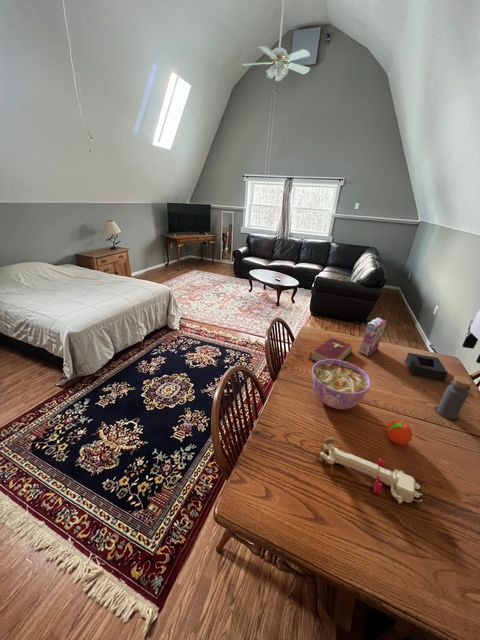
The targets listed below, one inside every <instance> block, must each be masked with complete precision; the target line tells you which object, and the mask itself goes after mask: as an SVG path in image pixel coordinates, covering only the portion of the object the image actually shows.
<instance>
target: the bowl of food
mask: <svg viewBox="0 0 480 640" xmlns="http://www.w3.org/2000/svg"><path fill="white" fill-rule="evenodd" d="M311 376H312V387H313V392H314V393H315V395H316V397H317V398H318V400H319V401H320V402H321V403H323V404H324V405H326V406H328V407H330V408H332V409H336V410H348V409H352V408H354V407H356V406H357V405H358V404H359V403H360V402H361V401H362V399H363V398H364V396H365V395H366V394H367V393H368V391H369V390H370V387H371V385H372V382H371V378H370V376H369V374H367V372H366V371H364V369H361V368H360V367H358V366H357V365H355V364H353V363H351V362H348V361H345V360H343V361H341V360H335V359H326V360H321V361H319V362H315V363H314V365H312V369H311Z"/></svg>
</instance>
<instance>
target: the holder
mask: <svg viewBox="0 0 480 640" xmlns="http://www.w3.org/2000/svg"><path fill="white" fill-rule="evenodd" d="M405 363H406V365H407V367H408V369H409V371H410V374H411V376H415V377H419V378H424V379H430V380H435V381H439V382H440V381H441V382H445V380H446V378H447V376H448V373H449V372H448V371H447V369H446V367H445V366H444V364H443V363H442V361H441V360H440V359H439V357H436V356H430V355H425V354H418V353H413V352H408V353H407V355H406V357H405Z"/></svg>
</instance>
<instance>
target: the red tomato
mask: <svg viewBox="0 0 480 640" xmlns="http://www.w3.org/2000/svg"><path fill="white" fill-rule="evenodd" d="M385 430H386V436H387V437H388V439H389V440H390V441H391V442H393V443H395V444H396V445H400V446H401V445H408V443H410V442H411V441H412V438H413V431H412V429H411V426H409V425H408V424H407V423H406V422H405V421H403V420H391V421H390V422H388V424H387V425H386V429H385Z"/></svg>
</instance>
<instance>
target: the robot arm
mask: <svg viewBox="0 0 480 640" xmlns="http://www.w3.org/2000/svg"><path fill="white" fill-rule="evenodd" d="M478 341H479V342H480V309H478V311H477V313H476V314H475V316H474V318H473V319H471V320H470V321H469V326H468V328H467V332H466V336H465V339H464V341H463V343H462V345H461V346H462V347H463V348H465V349H471V350H472V349H475V347H476V345H477V343H478ZM475 362H476V364H480V353H479V354H478V356H477V358H476V360H475Z"/></svg>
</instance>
